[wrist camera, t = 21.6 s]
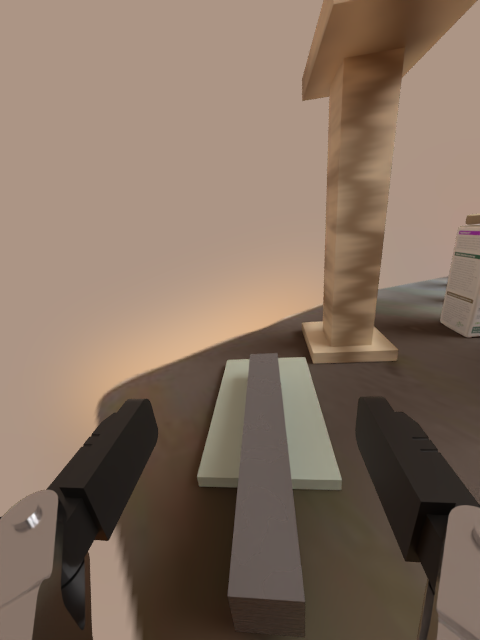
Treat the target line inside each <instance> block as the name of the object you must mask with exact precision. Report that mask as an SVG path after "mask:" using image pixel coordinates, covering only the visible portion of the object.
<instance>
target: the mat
mask: <svg viewBox="0 0 480 640" xmlns="http://www.w3.org/2000/svg"><path fill="white" fill-rule="evenodd" d="M249 360H250V359H240V360H227V364H226V367H225V371H224V375H223V379H222V383H221V387H220V390H219V394H218V398H217V402H216V406H215V410H214V413H213V417H212V421H211V425H210V429H209V433H208V436H207V440H206V444H205V448H204V452H203V456H202V459H201V463H200V467H199V471H198V475H197V480H198V484H199V487H238V478H239V467H240V457H241V446H242V435H243V425H244V414H245V403H246V392H247V382H248V371H249ZM278 363H279V372H280V381H281V390H282V399H283V408H284V417H285V426H286V435H287V444H288V453H289V462H290V471H291V480H292V489H315V490H341V486H342V479H341V475H340V472H339V469H338V465H337V462H336V459H335V455H334V452H333V448H332V445H331V442H330V438H329V435H328V432H327V428H326V425H325V422H324V418H323V415H322V412H321V408H320V405H319V402H318V398H317V395H316V391H315V388H314V385H313V381H312V378H311V375H310V371H309V368H308V365H307V361H306V358H305V357H294V358H278Z"/></svg>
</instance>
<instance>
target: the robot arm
mask: <svg viewBox="0 0 480 640" xmlns="http://www.w3.org/2000/svg"><path fill="white" fill-rule="evenodd" d="M157 438H158V428H157V424H156V420H155V417H154V413H153V409H152V406H151V403H150V401H149V400H148V399H128V400H127V401H126V402H125V403H124V404H123V406H122V407H121V408H120V409H119V411H118V412H117V413H113V414H112V415H110V416H109V417H108V418H106V419H105V420H104V421H103V422H101V423H100V425H99V426H98V427H97V428H96V430H95V431H94V432H93V433H92V436H91V437H89V438H88V439H87V441H86V442H85V443H84V446H83V447H81V448H80V449H79V450H78V452H77V453H76V454H75V455H74V457H73V458H72V459H71V460H70V461H69V463H68V464H67V465H66V466H65V468H64V469H63V470H62V471H61V473H60V474H59V475H58V476H57V477H56V479H55V480H54V481H53V482H52V484H51V485H50V486H49V487H48V488H47V489H46V490H41V491H38V492H35V493H33V494H31V495H29V496H27V497H25V498H23V499H22V500H20V501H19V502H18V503H16V504H15V505H14V506H13V507H11V508H10V509H9V510H8V511H7V512H6V513H5V514H4V515H3V516H2V517H0V640H93V637H92V623H91V621H92V620H91V587H90V558H89V553H88V550H89V548H90V546H91V545H92V543H93V541H94V540H105V541H108V540H109V539H110V537H111V535H112V533H113V530H114V528H115V526H116V524H117V522H118V520H119V518H120V516H121V514H122V512H123V510H124V508H125V506H126V504H127V502H128V500H129V498H130V496H131V494H132V492H133V490H134V488H135V486H136V484H137V482H138V480H139V478H140V475H141V473H142V471H143V469H144V467H145V465H146V463H147V461H148V459H149V457H150V455H151V453H152V451H153V449H154V447H155V445H156V442H157ZM356 440H357V444H358V447H359V450H360V452H361V455H362V457H363V460H364V462H365V465H366V467H367V469H368V472H369V474H370V477H371V479H372V482H373V484H374V486H375V489H376V491H377V494H378V496H379V499H380V501H381V503H382V506H383V508H384V511H385V513H386V516H387V518H388V520H389V523H390V525H391V528H392V530H393V533H394V535H395V537H396V540H397V542H398V545H399V547H400V550H401V552H402V554H403V557H404V559H405V561H408V562H421V564H422V566H423V569H424V571H425V573H426V575H427V577H428V579H427V583H426V588H425V594H424V600H423V606H422V611H421V617H420V623H419V629H418V635H417V640H480V505H479V504H478V502H477V501H476V500H475V498H474V497H473V496H472V494H471V493H470V492H469V490H468V489H467V488H466V487H465V485H464V484H463V483H462V481H461V480H460V479H459V477H458V476H457V475H456V473H455V472H454V471H453V469H452V468H451V467H450V465H449V464H448V463H447V461H446V460H445V459H444V457H443V456H442V455H441V453H438V449H437V448H436V447H435V445H434V444H433V443H432V441H431V440H429V438H428V436H427V435H426V433H425V432H424V431H423V430H422V428H421V427H420V426H419V424H418V423H417V422H415V421H414V420H413V419H411V418H410V417H409V416H407V415H406V414H405V413H403V412H394V410H393V409H392V407H391V406H390V404H389V403H388V402H387V400H386V399H385V398H384V397H360V398H359V401H358V410H357V420H356Z"/></svg>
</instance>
